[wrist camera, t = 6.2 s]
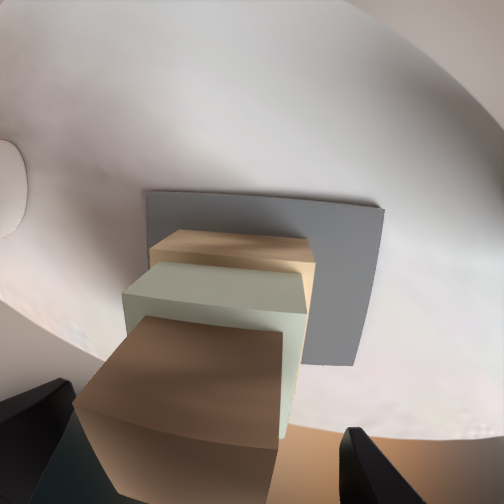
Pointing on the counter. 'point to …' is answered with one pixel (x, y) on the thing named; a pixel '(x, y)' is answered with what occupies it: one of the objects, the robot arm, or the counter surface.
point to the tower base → (240, 255)
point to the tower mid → (227, 307)
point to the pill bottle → (11, 188)
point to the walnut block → (187, 413)
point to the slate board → (294, 226)
